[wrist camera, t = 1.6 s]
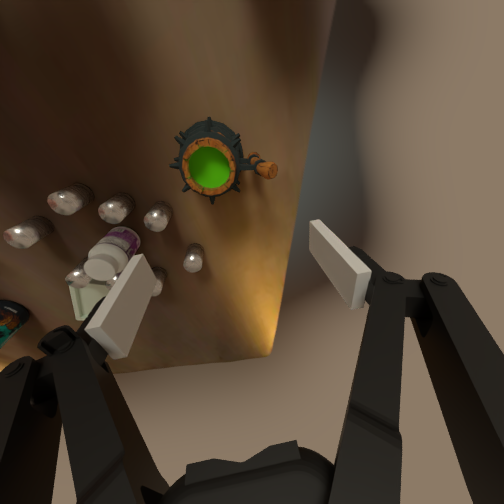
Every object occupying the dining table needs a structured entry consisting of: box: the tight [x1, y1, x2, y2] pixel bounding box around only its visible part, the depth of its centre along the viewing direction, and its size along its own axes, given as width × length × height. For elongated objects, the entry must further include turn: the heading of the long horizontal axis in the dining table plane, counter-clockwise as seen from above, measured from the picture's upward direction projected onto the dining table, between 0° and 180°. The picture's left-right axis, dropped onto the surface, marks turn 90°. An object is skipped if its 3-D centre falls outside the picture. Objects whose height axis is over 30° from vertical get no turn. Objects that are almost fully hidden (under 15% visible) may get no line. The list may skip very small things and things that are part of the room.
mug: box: [169, 117, 278, 204], centre depth 27 cm, size 13×10×12 cm
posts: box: [3, 183, 204, 296], centre depth 35 cm, size 28×17×5 cm, turn 74°
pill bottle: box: [84, 227, 140, 281], centre depth 33 cm, size 5×5×10 cm
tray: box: [69, 278, 110, 321], centre depth 43 cm, size 11×11×2 cm
